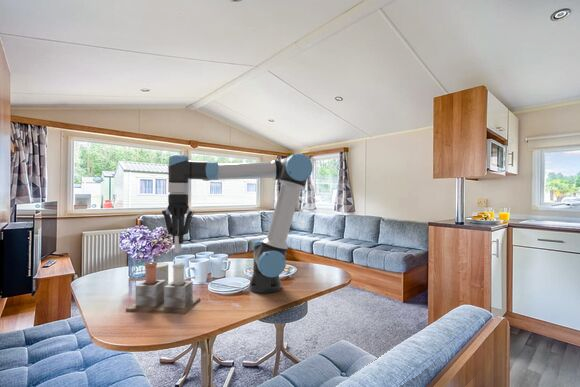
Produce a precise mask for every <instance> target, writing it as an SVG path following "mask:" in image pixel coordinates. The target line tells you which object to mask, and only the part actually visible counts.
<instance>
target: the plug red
mask: <svg viewBox="0 0 580 387" xmlns="http://www.w3.org/2000/svg"><path fill="white" fill-rule="evenodd" d="M157 263H158V262H156V261H150V262H145V263H144V267H145V268H144V269H145V271H144V272H145V281H146V285H154V284H156V265H157Z"/></svg>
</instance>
